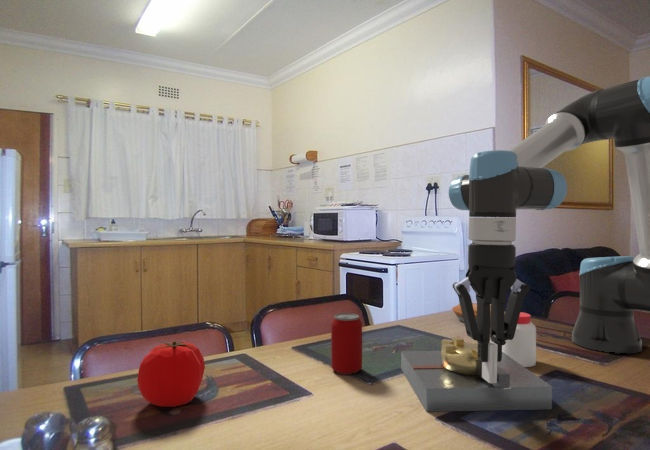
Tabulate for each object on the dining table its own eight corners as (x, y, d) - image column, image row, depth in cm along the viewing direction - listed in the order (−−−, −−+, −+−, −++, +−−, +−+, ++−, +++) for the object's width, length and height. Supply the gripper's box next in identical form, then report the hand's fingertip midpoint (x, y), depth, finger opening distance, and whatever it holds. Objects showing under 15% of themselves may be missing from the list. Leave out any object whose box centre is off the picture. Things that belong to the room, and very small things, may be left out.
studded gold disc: (432, 358, 86) (432, 338, 86) (477, 355, 88) (477, 335, 88) (476, 392, 69) (477, 367, 69) (531, 388, 71) (531, 363, 71)
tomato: (165, 423, 68) (164, 355, 68) (123, 406, 74) (123, 344, 74) (220, 396, 78) (219, 337, 78) (179, 383, 84) (178, 328, 84)
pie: (455, 326, 128) (455, 310, 128) (449, 314, 144) (449, 300, 144) (508, 328, 126) (508, 311, 126) (496, 316, 141) (496, 301, 141)
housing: (499, 367, 92) (499, 349, 92) (554, 411, 72) (554, 387, 71) (401, 369, 92) (401, 350, 91) (427, 413, 71) (427, 389, 71)
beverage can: (366, 367, 93) (366, 314, 93) (355, 378, 87) (355, 320, 86) (338, 363, 96) (338, 311, 95) (326, 373, 89) (326, 317, 89)
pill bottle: (540, 368, 92) (540, 318, 92) (503, 366, 94) (503, 317, 93) (530, 356, 100) (530, 311, 99) (496, 354, 101) (496, 309, 101)
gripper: (464, 244, 67) (461, 389, 67) (540, 244, 68) (538, 388, 68) (446, 241, 74) (444, 372, 75) (515, 241, 75) (513, 371, 76)
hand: (489, 379), depth 71 cm, fingers closed
